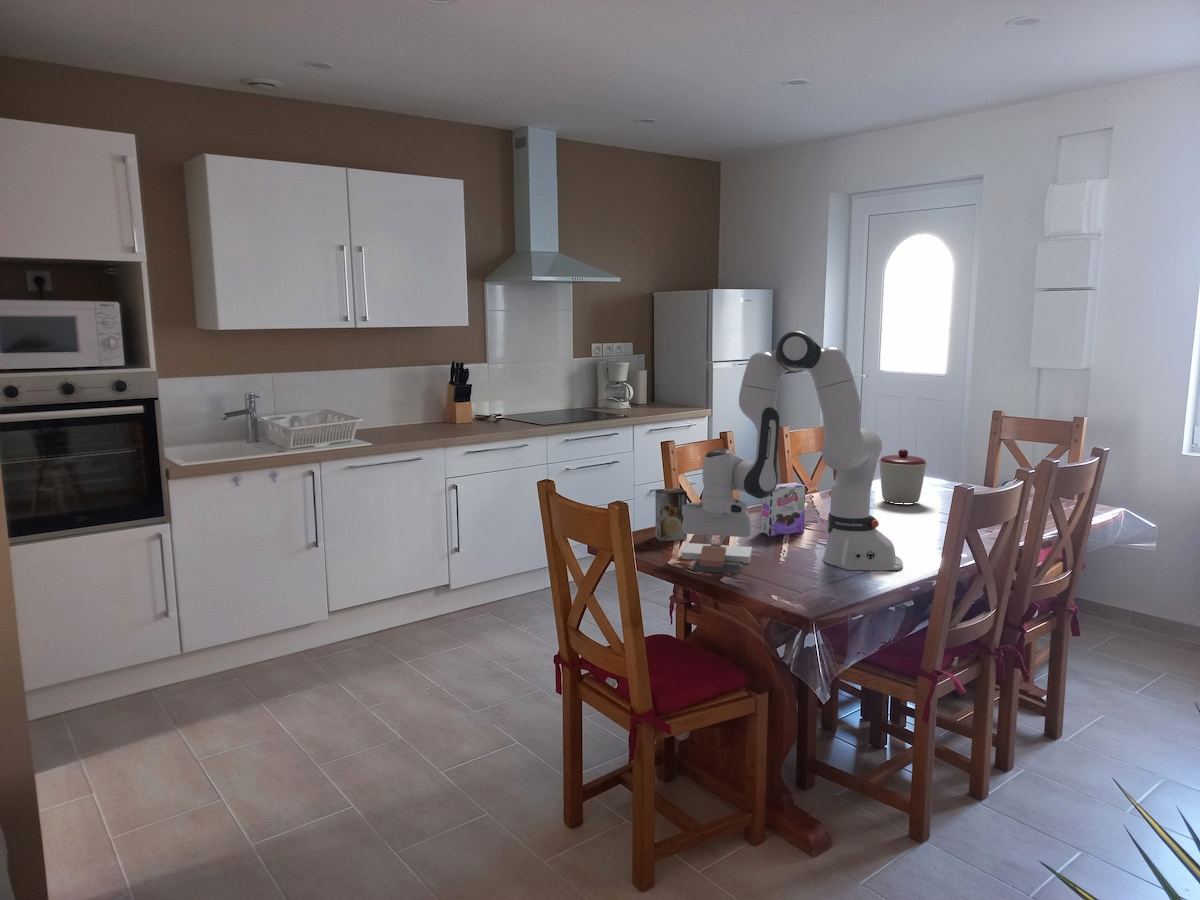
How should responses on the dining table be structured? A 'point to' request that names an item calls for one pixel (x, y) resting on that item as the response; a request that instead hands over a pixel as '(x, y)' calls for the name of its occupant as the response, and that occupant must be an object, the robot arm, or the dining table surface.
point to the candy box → (783, 510)
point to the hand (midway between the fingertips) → (715, 549)
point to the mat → (728, 567)
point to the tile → (712, 556)
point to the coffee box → (670, 514)
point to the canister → (902, 477)
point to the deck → (732, 551)
